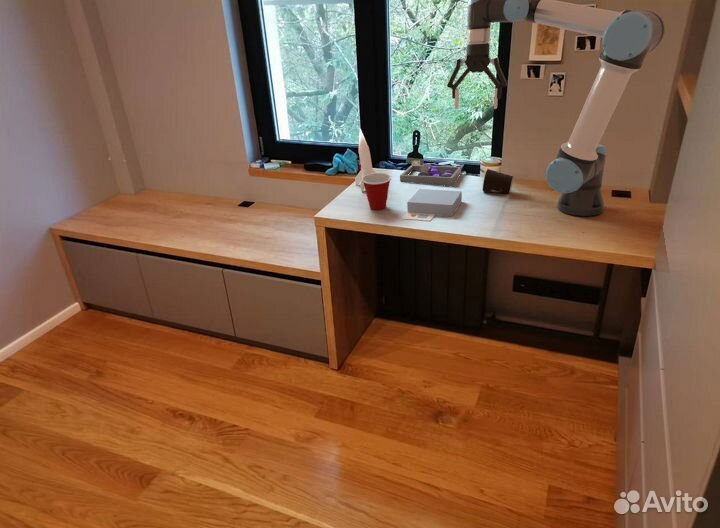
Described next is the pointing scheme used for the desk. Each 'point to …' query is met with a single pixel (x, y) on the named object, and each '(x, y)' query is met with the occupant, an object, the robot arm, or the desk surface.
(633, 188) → the desk surface
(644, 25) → the robot arm
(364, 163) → the rocket
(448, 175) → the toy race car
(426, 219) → the page
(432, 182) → the tray
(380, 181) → the plastic cup
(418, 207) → the base brick
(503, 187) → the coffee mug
